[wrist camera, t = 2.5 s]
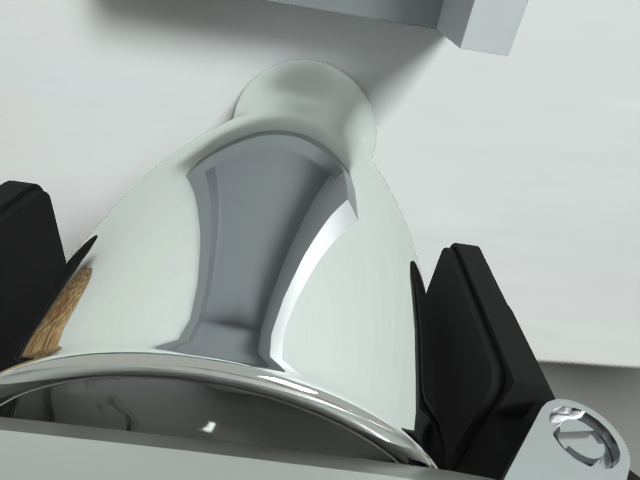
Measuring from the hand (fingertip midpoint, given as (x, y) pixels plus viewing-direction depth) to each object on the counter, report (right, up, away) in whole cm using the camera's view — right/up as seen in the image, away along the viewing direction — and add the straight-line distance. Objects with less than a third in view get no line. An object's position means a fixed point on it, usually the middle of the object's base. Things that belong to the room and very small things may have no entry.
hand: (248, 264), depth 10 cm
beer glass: (+1, +5, +8) cm, 10 cm away
